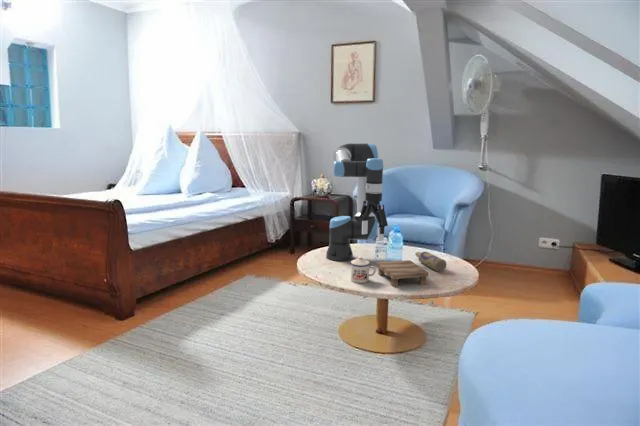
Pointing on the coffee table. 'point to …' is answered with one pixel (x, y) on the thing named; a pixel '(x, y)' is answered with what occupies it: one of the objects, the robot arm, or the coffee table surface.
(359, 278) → the teacup with lid
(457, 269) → the coffee table surface
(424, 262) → the decorative bottle
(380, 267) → the walnut stand
